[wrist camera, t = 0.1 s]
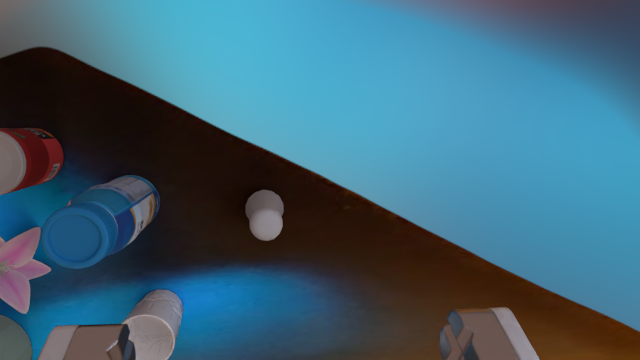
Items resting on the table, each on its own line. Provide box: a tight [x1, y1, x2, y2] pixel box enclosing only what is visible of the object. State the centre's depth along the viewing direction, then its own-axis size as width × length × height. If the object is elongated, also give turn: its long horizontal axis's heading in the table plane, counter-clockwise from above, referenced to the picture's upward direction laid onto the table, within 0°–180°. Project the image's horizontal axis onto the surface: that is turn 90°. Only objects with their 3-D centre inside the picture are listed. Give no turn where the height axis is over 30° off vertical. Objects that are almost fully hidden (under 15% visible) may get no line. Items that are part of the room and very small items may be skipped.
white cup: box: [121, 289, 183, 360], centre depth 60 cm, size 8×8×10 cm
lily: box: [0, 227, 51, 314], centre depth 57 cm, size 12×12×10 cm
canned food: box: [0, 128, 64, 195], centre depth 53 cm, size 8×8×11 cm
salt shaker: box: [245, 190, 284, 241], centre depth 58 cm, size 6×6×13 cm
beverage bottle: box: [41, 175, 160, 269], centre depth 52 cm, size 8×8×20 cm
